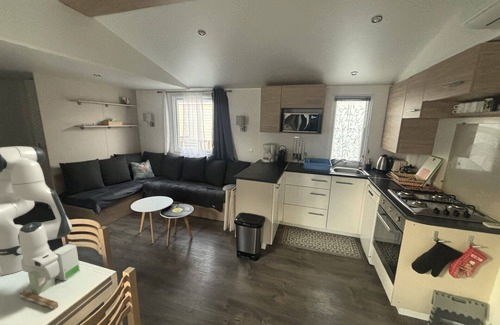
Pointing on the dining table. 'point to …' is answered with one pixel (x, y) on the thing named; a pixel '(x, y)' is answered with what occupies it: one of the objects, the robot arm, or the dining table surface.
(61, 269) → the skincare box
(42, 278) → the sage tea box
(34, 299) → the rail
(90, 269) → the dining table surface
